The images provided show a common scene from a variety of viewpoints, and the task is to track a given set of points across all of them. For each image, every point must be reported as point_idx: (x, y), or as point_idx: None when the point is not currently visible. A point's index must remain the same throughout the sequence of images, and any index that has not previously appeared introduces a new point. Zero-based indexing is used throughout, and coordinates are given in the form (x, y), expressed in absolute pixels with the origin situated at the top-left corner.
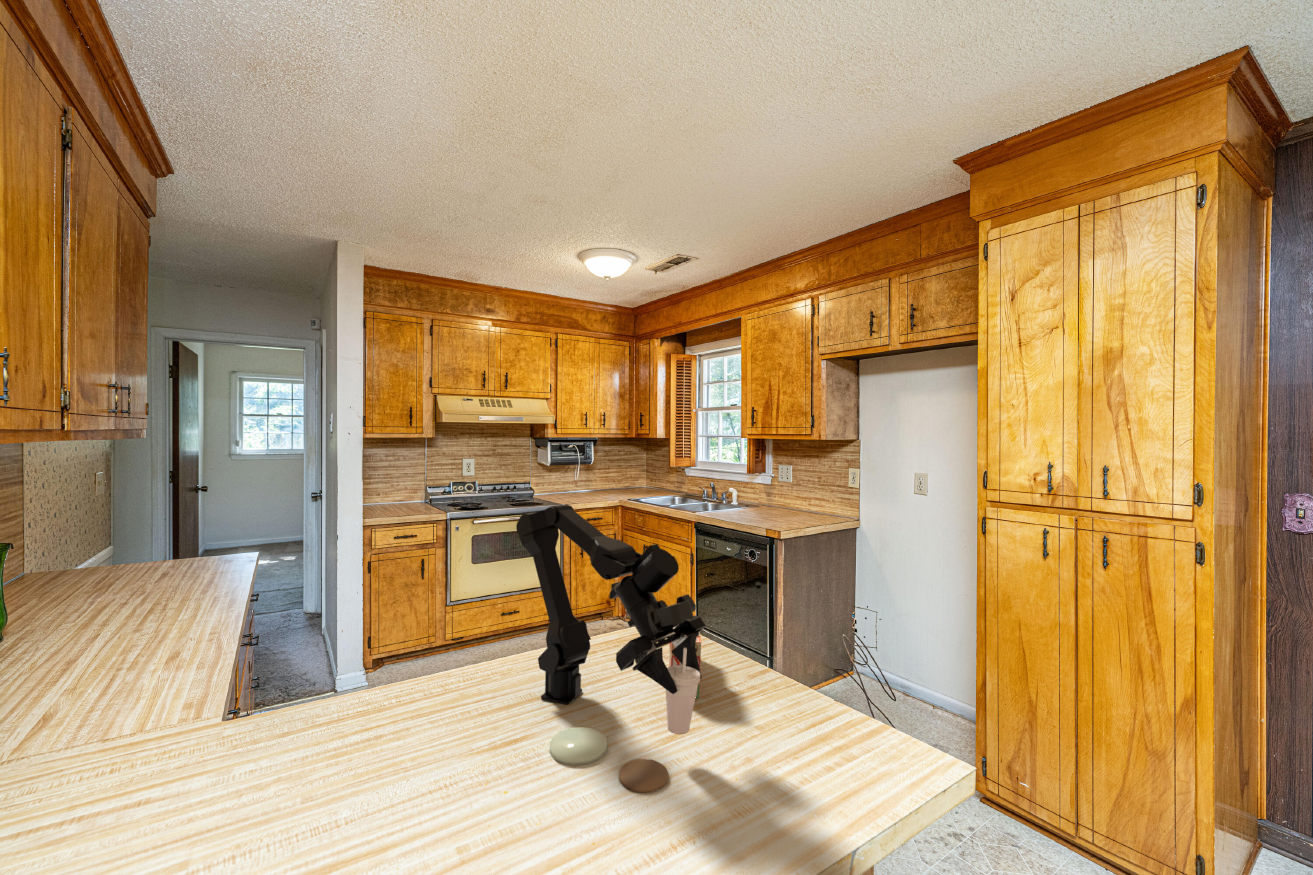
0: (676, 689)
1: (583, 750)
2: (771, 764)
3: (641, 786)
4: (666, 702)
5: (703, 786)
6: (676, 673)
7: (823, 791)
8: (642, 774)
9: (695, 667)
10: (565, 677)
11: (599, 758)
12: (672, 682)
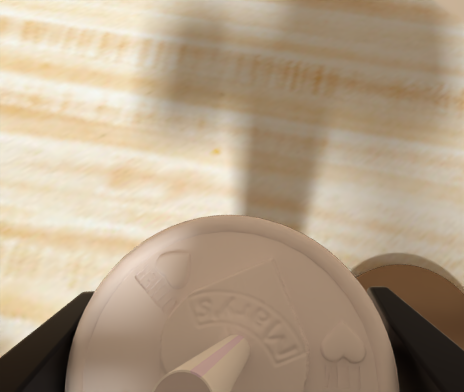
0: (382, 288)
1: None
2: (102, 125)
3: (454, 301)
4: None
5: (303, 191)
6: (304, 385)
7: (121, 3)
8: None
9: (60, 352)
10: None
11: None
12: (413, 325)
